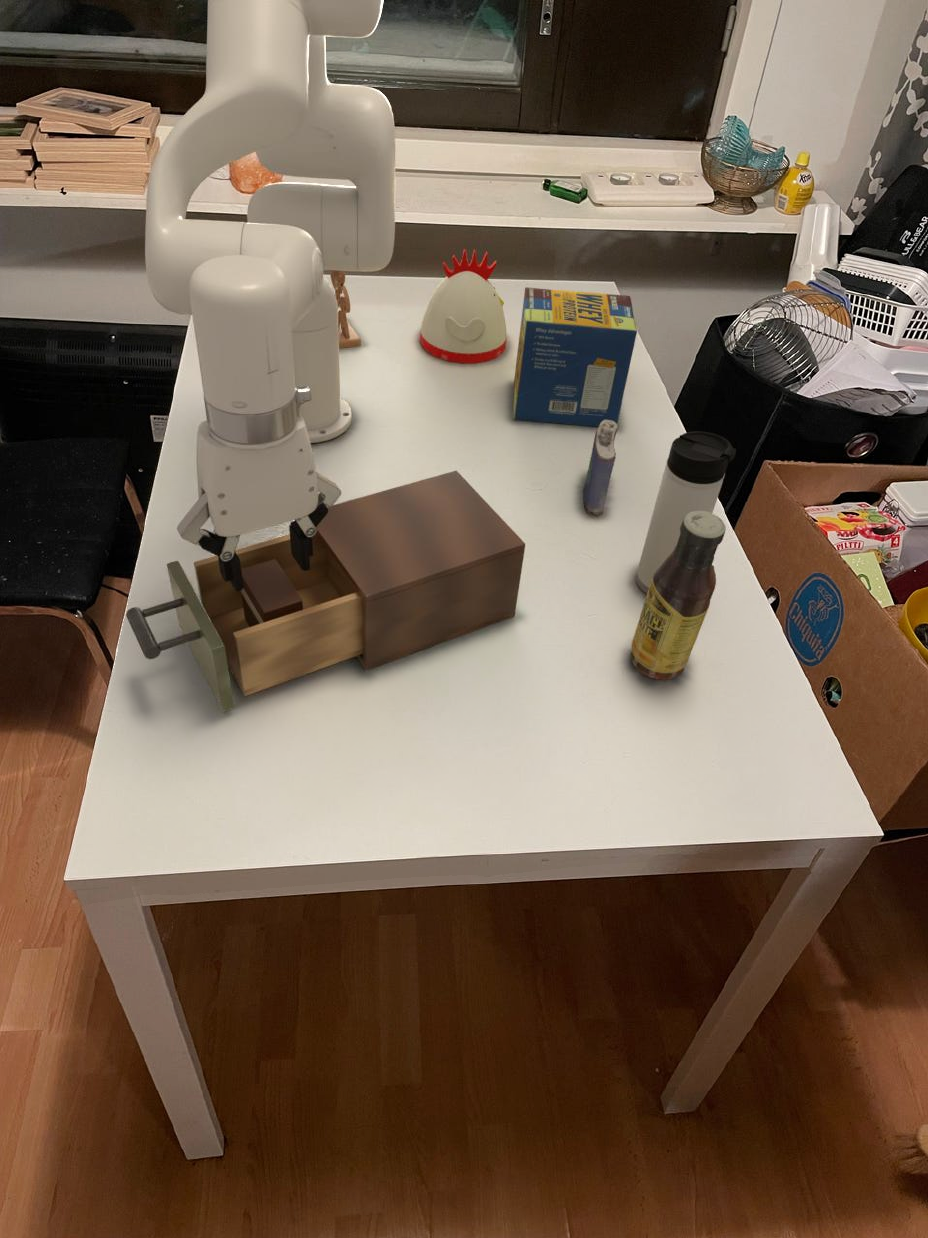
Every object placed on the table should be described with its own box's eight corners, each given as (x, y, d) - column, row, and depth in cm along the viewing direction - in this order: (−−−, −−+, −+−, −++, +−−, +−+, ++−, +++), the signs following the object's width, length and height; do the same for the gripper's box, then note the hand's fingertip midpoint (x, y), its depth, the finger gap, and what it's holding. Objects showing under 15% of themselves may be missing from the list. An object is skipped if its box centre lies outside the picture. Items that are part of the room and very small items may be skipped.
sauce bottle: (623, 642, 102) (662, 497, 88) (677, 641, 103) (725, 498, 89) (635, 686, 98) (678, 541, 84) (692, 685, 98) (744, 542, 84)
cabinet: (366, 670, 96) (365, 596, 89) (309, 586, 105) (305, 512, 98) (514, 616, 104) (525, 543, 97) (450, 541, 113) (456, 469, 105)
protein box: (512, 383, 141) (523, 285, 130) (612, 392, 141) (632, 294, 130) (512, 420, 133) (524, 319, 122) (617, 429, 134) (639, 329, 123)
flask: (603, 517, 118) (618, 446, 111) (580, 514, 118) (594, 443, 111) (606, 476, 125) (621, 407, 117) (584, 473, 125) (598, 404, 118)
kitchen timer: (505, 366, 144) (516, 272, 134) (418, 359, 144) (421, 265, 134) (504, 325, 154) (514, 235, 144) (422, 318, 154) (426, 228, 144)
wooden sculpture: (361, 345, 146) (361, 271, 138) (338, 348, 145) (336, 274, 136) (343, 319, 152) (341, 247, 143) (320, 322, 150) (317, 249, 142)
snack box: (269, 662, 94) (263, 613, 89) (244, 619, 98) (237, 569, 93) (306, 649, 95) (303, 600, 90) (280, 607, 99) (275, 558, 95)
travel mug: (678, 609, 107) (724, 466, 93) (626, 586, 109) (664, 443, 95) (698, 580, 111) (745, 439, 97) (648, 559, 113) (687, 417, 99)
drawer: (168, 731, 88) (153, 669, 82) (128, 641, 96) (111, 578, 90) (383, 654, 97) (384, 592, 91) (330, 577, 105) (327, 516, 99)
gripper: (327, 370, 84) (333, 527, 96) (136, 411, 77) (168, 575, 89) (363, 410, 79) (364, 569, 91) (164, 457, 72) (194, 623, 84)
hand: (268, 571), depth 90 cm, fingers open, 6 cm apart
